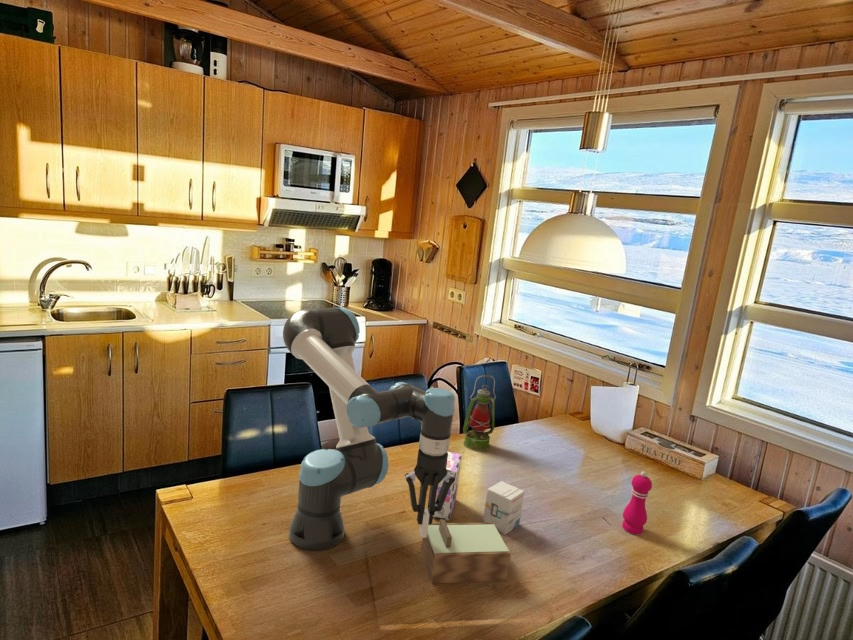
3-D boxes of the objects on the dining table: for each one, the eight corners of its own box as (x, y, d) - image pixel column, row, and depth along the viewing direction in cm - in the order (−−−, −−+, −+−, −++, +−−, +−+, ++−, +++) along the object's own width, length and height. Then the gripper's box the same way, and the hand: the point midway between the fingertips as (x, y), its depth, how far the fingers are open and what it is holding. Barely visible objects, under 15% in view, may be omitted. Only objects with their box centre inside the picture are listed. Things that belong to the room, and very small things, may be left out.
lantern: (465, 451, 222) (475, 379, 216) (455, 440, 232) (465, 370, 226) (497, 450, 226) (508, 379, 220) (486, 439, 236) (496, 371, 230)
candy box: (449, 521, 171) (456, 472, 168) (430, 517, 172) (437, 468, 169) (456, 499, 185) (462, 453, 181) (438, 496, 186) (444, 449, 182)
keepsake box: (431, 585, 142) (435, 555, 140) (420, 551, 155) (424, 523, 153) (506, 583, 146) (511, 553, 144) (489, 550, 159) (493, 522, 158)
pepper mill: (629, 536, 175) (641, 477, 171) (615, 523, 182) (627, 466, 178) (648, 535, 177) (661, 477, 173) (635, 522, 184) (646, 465, 180)
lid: (435, 556, 141) (436, 542, 140) (425, 528, 153) (426, 515, 152) (508, 554, 145) (510, 540, 145) (493, 527, 157) (495, 514, 156)
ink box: (496, 513, 180) (501, 479, 177) (519, 524, 174) (525, 490, 172) (481, 522, 173) (486, 488, 171) (505, 535, 168) (511, 499, 165)
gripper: (410, 456, 136) (400, 543, 141) (462, 457, 139) (450, 542, 144) (405, 443, 143) (395, 526, 148) (454, 444, 146) (443, 525, 151)
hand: (422, 534), depth 146 cm, fingers closed
